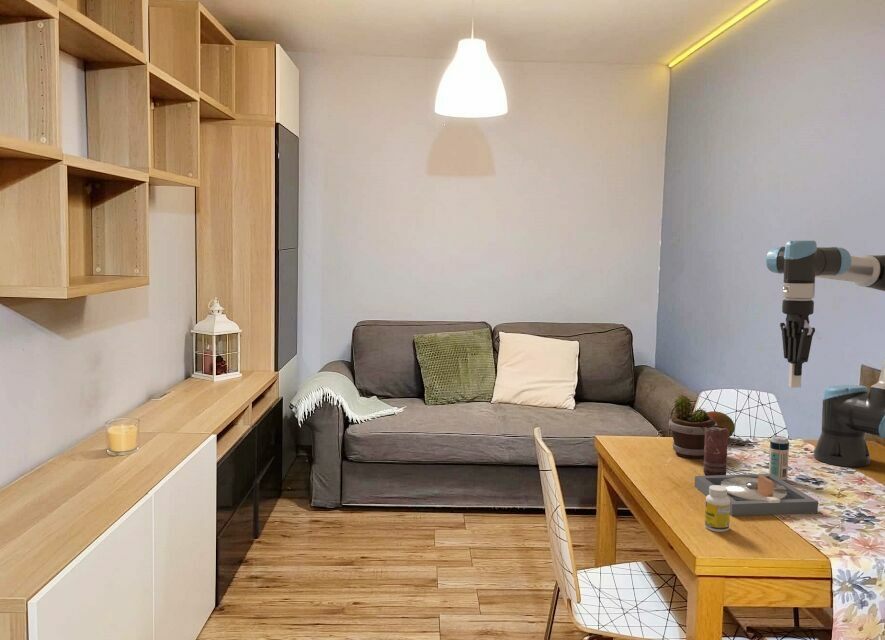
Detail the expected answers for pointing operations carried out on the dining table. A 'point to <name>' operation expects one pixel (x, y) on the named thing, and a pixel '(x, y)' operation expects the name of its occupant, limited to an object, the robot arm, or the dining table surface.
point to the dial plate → (771, 506)
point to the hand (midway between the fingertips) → (794, 386)
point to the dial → (753, 488)
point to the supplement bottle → (717, 509)
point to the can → (715, 450)
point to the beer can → (779, 457)
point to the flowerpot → (689, 428)
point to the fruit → (723, 421)
